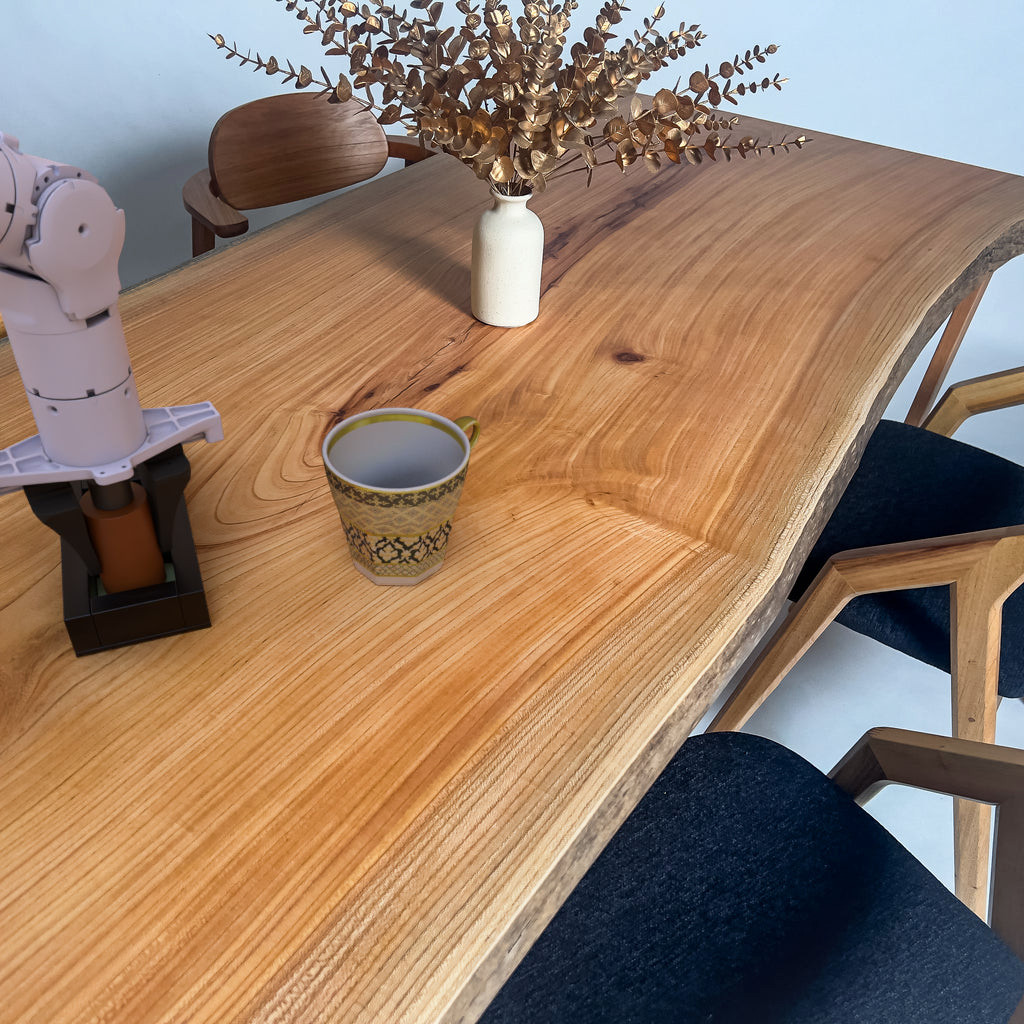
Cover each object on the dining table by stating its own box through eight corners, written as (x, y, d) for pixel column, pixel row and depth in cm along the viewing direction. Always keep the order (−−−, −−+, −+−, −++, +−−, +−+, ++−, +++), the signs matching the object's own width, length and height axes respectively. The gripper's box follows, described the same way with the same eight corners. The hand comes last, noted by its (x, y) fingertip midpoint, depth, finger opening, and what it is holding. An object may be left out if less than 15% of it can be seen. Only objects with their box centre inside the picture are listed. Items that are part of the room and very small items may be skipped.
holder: (76, 658, 58) (63, 620, 56) (66, 466, 74) (55, 431, 71) (212, 627, 61) (204, 590, 59) (174, 448, 76) (167, 414, 74)
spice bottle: (108, 608, 59) (74, 499, 53) (100, 570, 62) (67, 462, 56) (171, 591, 61) (145, 484, 55) (161, 555, 63) (135, 449, 58)
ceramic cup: (393, 625, 62) (389, 511, 56) (303, 555, 67) (290, 443, 61) (521, 541, 70) (530, 432, 63) (431, 483, 75) (432, 377, 68)
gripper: (-53, 444, 45) (22, 633, 54) (228, 374, 52) (256, 552, 61) (-75, 381, 50) (-2, 565, 58) (187, 324, 57) (218, 496, 65)
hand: (127, 554), depth 60 cm, fingers closed on spice bottle, 4 cm apart
